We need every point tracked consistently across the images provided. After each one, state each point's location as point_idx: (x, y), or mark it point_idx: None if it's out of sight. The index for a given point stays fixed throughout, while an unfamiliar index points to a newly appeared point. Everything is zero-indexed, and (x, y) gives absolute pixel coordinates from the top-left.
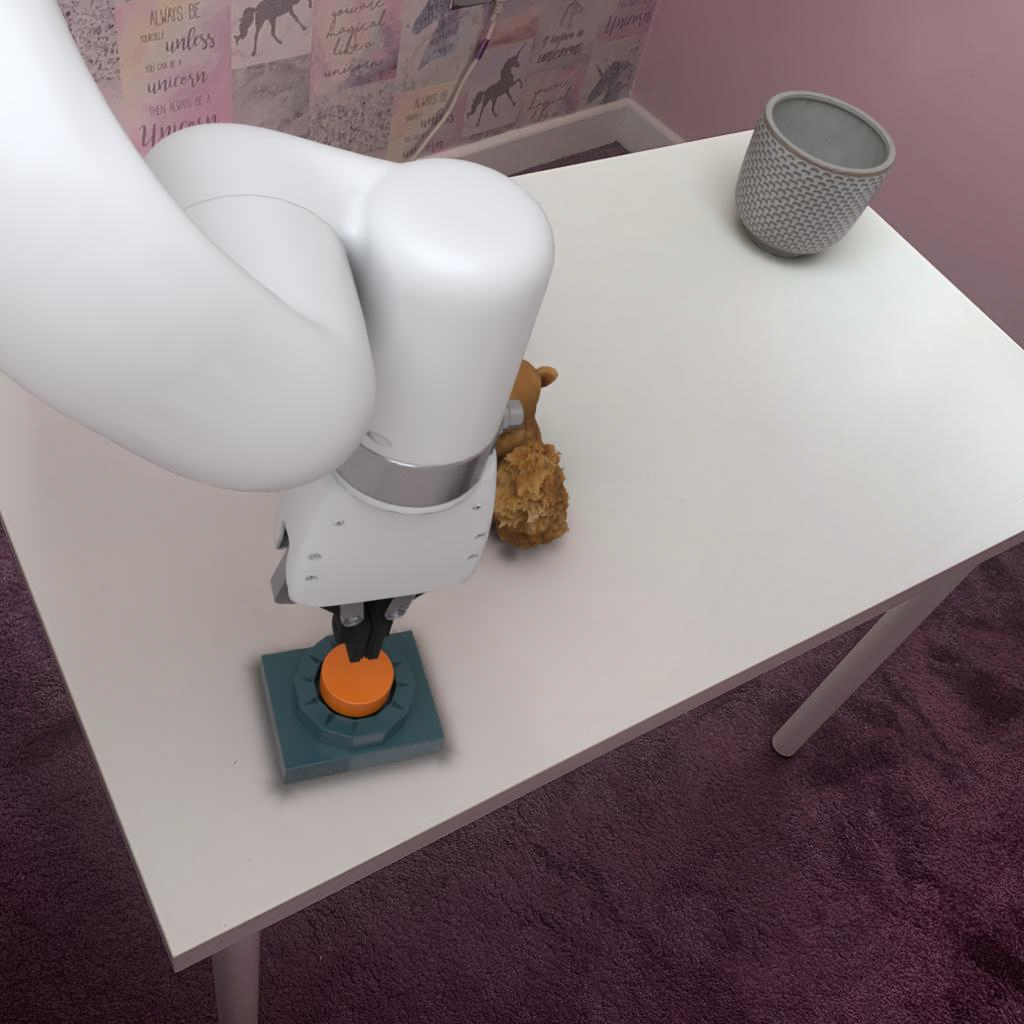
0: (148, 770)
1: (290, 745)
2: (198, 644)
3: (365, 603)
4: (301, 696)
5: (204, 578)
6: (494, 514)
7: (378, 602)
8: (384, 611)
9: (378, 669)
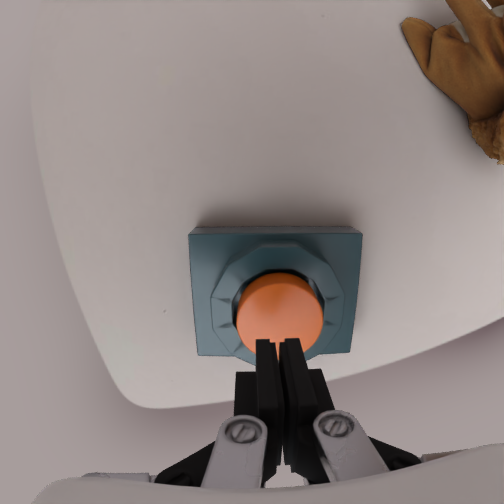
0: (100, 300)
1: (204, 336)
2: (141, 185)
3: (287, 423)
4: (215, 317)
5: (157, 107)
6: (497, 144)
7: (301, 469)
8: (305, 481)
9: (305, 325)
